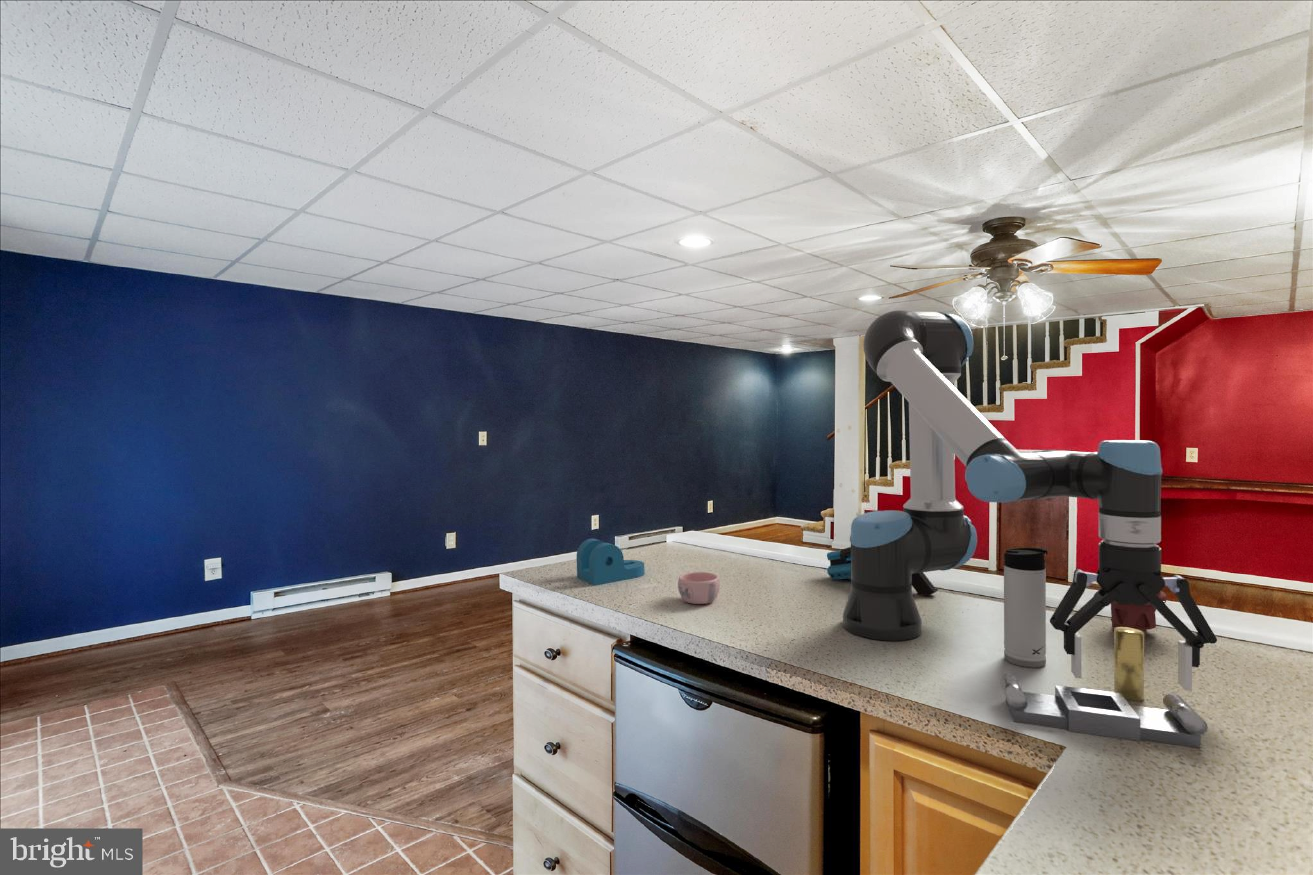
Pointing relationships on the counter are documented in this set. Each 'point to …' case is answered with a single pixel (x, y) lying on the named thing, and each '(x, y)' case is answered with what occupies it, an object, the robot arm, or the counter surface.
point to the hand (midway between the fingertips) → (1129, 681)
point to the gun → (842, 570)
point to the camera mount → (605, 563)
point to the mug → (698, 587)
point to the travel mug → (1025, 607)
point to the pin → (1129, 663)
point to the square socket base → (1105, 714)
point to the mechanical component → (1135, 615)
